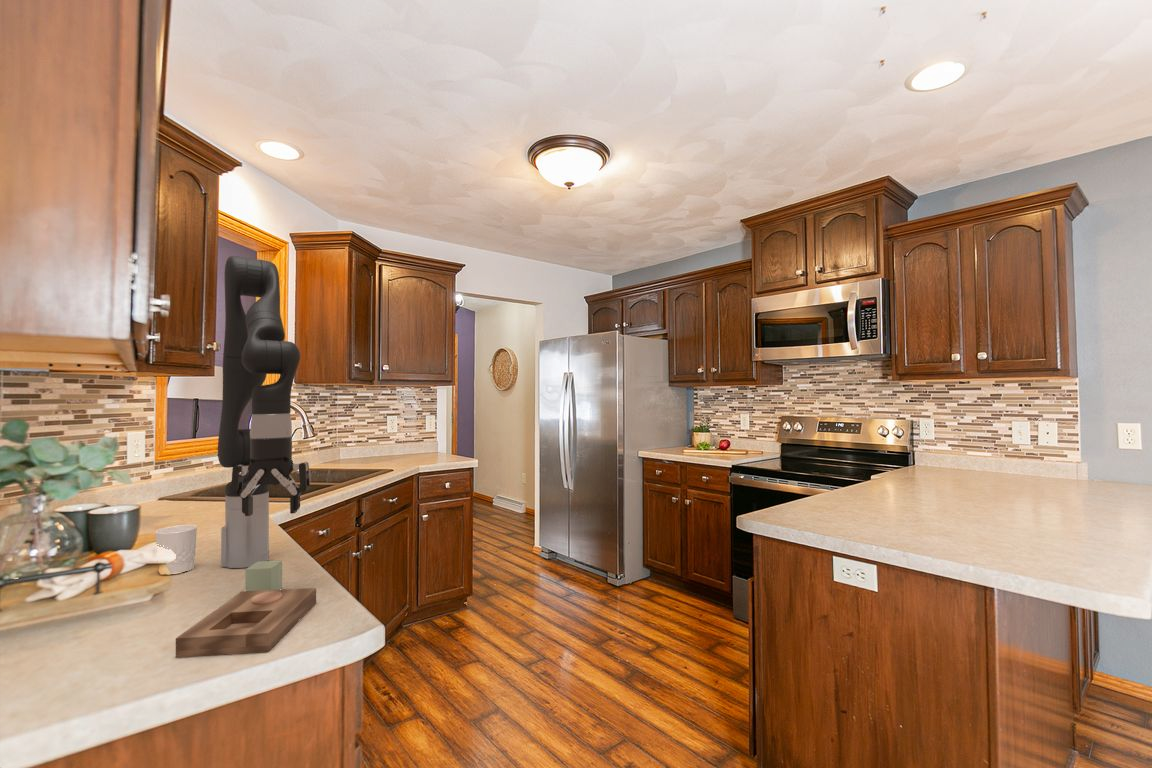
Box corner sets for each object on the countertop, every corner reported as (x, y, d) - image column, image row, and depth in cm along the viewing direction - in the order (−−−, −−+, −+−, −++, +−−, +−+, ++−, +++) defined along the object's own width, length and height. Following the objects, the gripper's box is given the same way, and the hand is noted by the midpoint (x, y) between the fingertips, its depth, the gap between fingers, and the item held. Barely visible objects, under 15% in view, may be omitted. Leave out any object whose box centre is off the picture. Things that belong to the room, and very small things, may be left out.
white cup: (152, 571, 125) (152, 529, 125) (192, 563, 131) (192, 523, 131) (158, 579, 120) (159, 535, 120) (200, 570, 126) (200, 528, 126)
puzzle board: (175, 657, 84) (175, 634, 84) (241, 606, 103) (241, 588, 104) (268, 651, 85) (268, 629, 85) (316, 603, 105) (316, 584, 105)
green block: (245, 598, 108) (245, 569, 108) (257, 589, 113) (257, 561, 113) (271, 597, 108) (271, 568, 108) (282, 588, 113) (282, 560, 113)
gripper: (313, 433, 115) (313, 508, 114) (241, 435, 112) (241, 512, 111) (302, 435, 107) (302, 515, 107) (225, 438, 105) (224, 520, 104)
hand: (271, 514), depth 109 cm, fingers open, 8 cm apart
